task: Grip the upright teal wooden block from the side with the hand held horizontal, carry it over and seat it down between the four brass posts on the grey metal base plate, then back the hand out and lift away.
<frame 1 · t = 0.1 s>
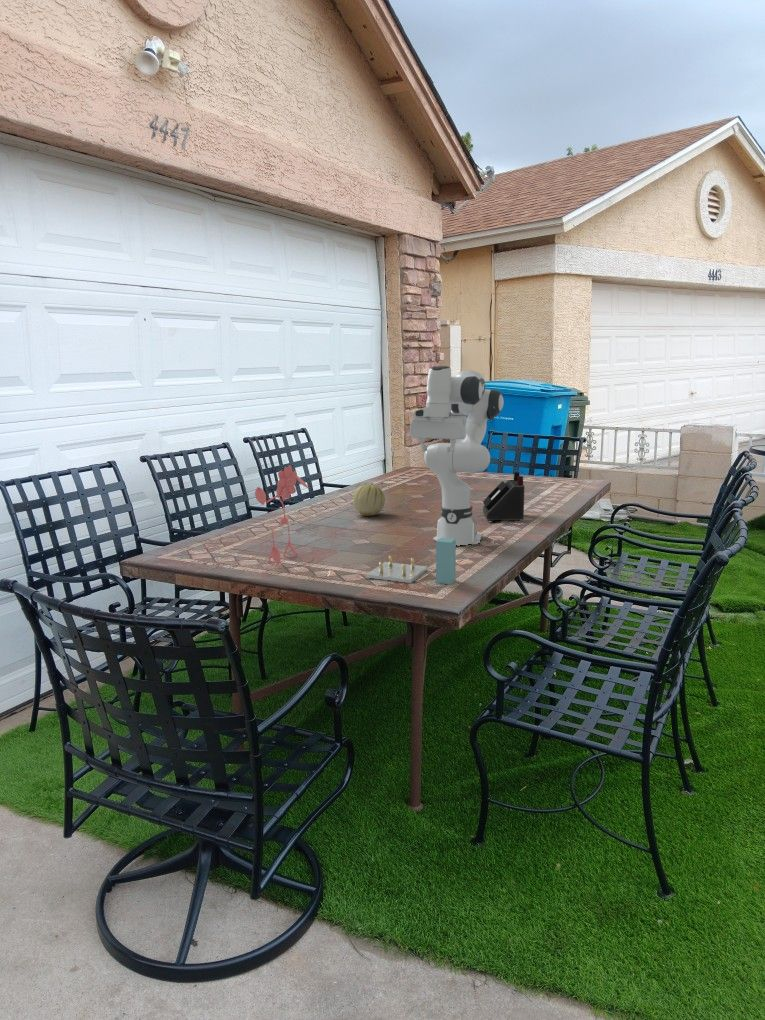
hand: (437, 451, 259), 39 cm above the table, tool pointing down, fingers open, 8 cm apart
figurine: (291, 561, 265), on the table
post plate: (397, 573, 248), on the table
voltmeter: (502, 519, 327), on the table
cantaloupe: (369, 515, 337), on the table
teal block: (445, 581, 239), on the table
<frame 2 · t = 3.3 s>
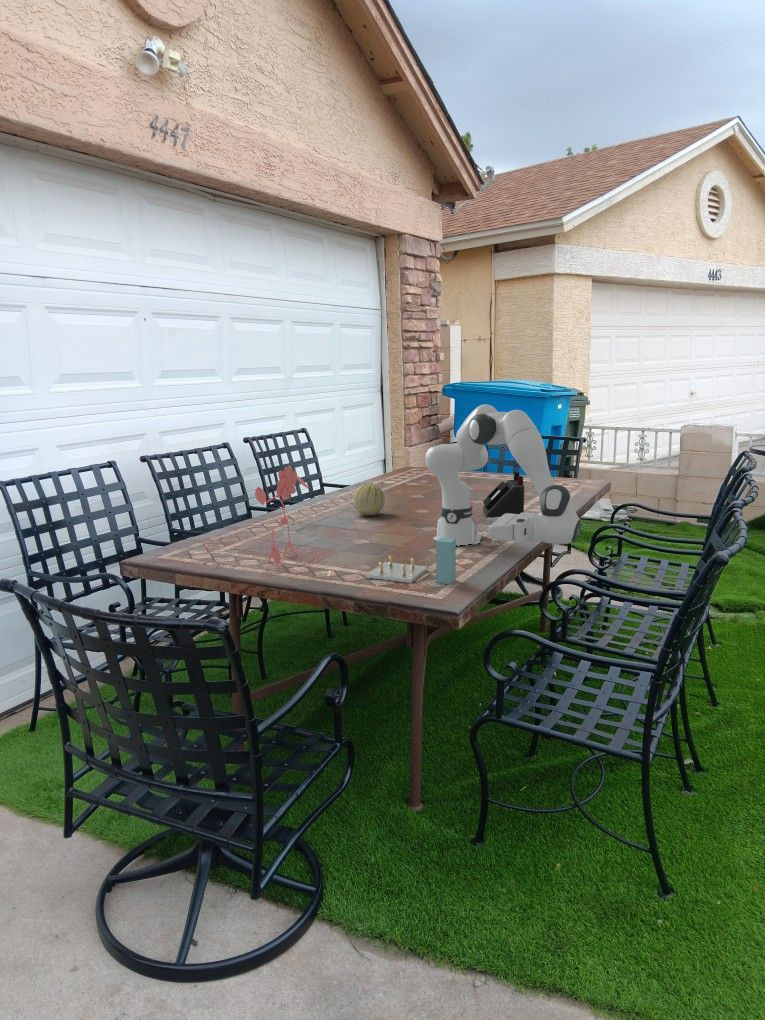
hand: (482, 523, 230), 20 cm above the table, tool horizontal, fingers open, 8 cm apart
nothing on the table moved.
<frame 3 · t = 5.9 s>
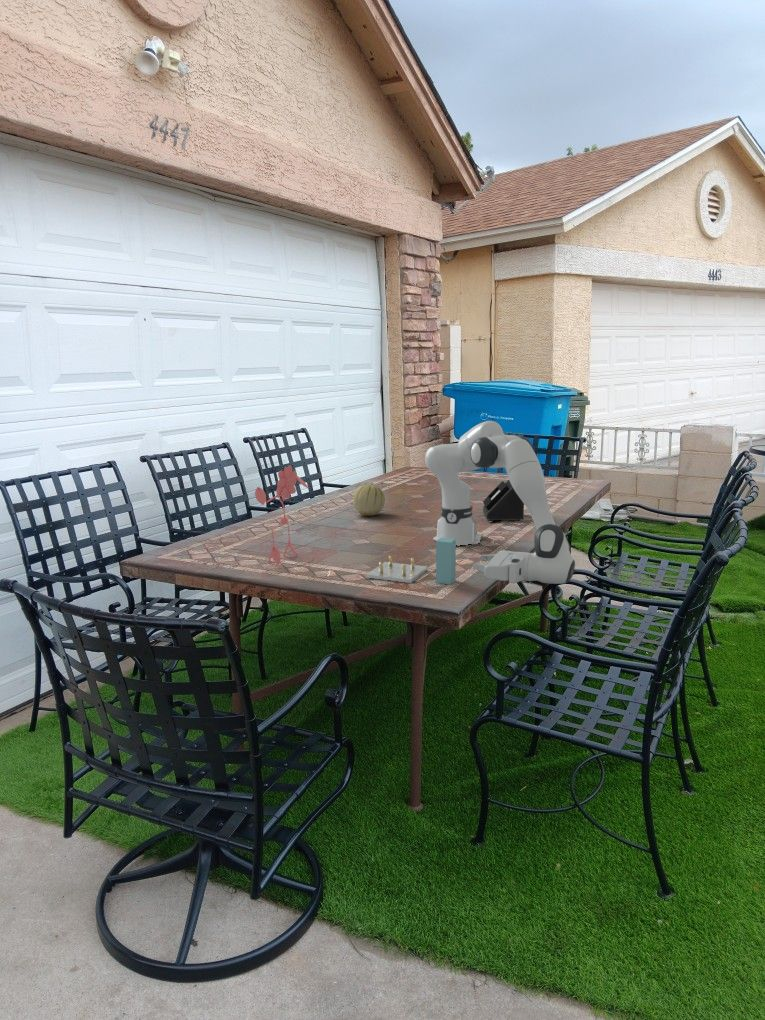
hand: (477, 561, 234), 8 cm above the table, tool horizontal, fingers open, 8 cm apart
nothing on the table moved.
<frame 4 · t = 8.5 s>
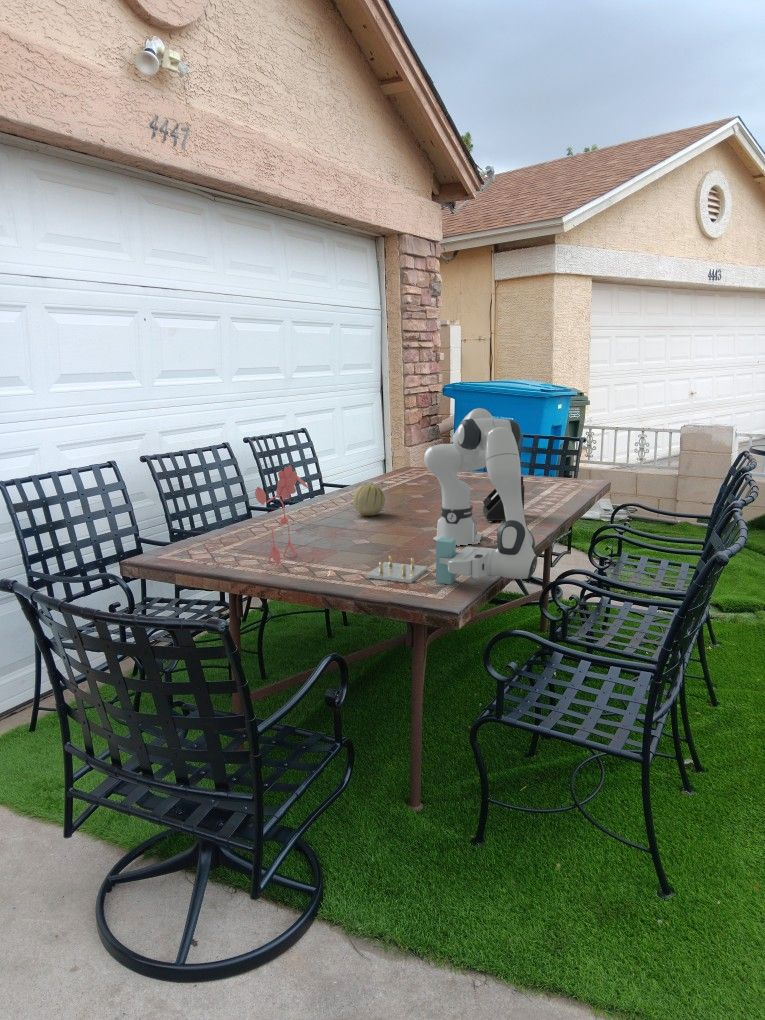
hand: (443, 557, 238), 8 cm above the table, tool horizontal, fingers closed on teal block, 5 cm apart
teal block: (445, 581, 239), on the table, touching gripper
everything else where it was.
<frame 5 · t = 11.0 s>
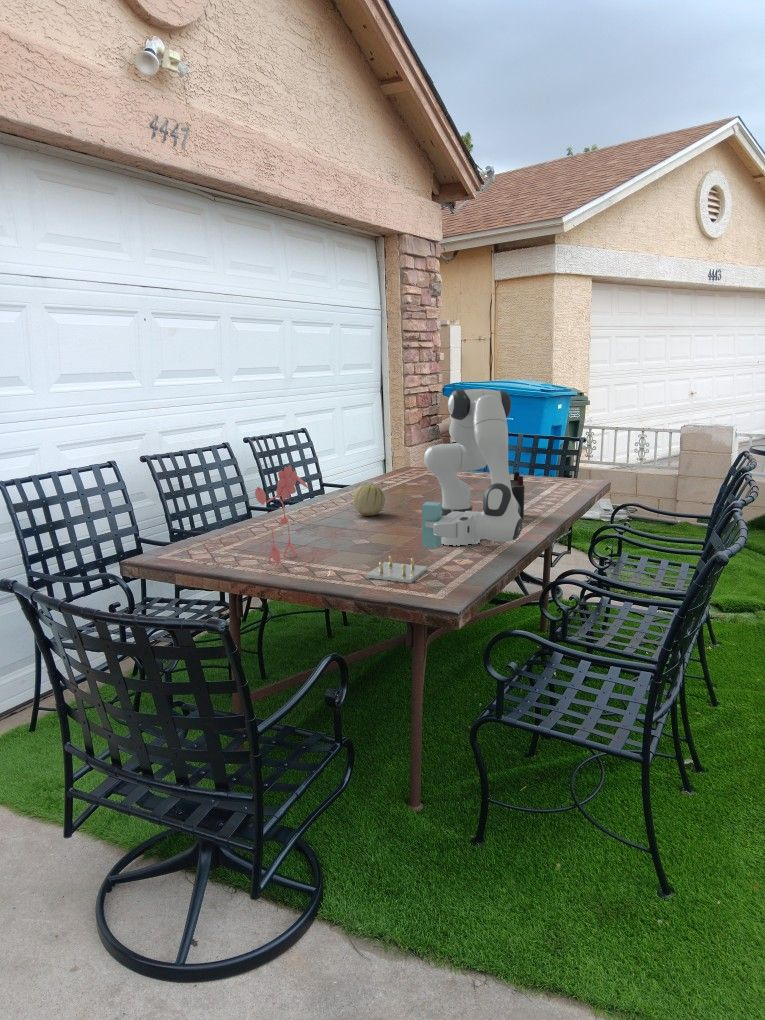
hand: (429, 521, 238), 19 cm above the table, tool horizontal, fingers closed on teal block, 5 cm apart
teal block: (431, 545, 240), point 11 cm above the table, touching gripper
everything else where it was.
when the fingers open (11 cm above the table, at t = 13.8 s): teal block drops 1 cm, resting on post plate.
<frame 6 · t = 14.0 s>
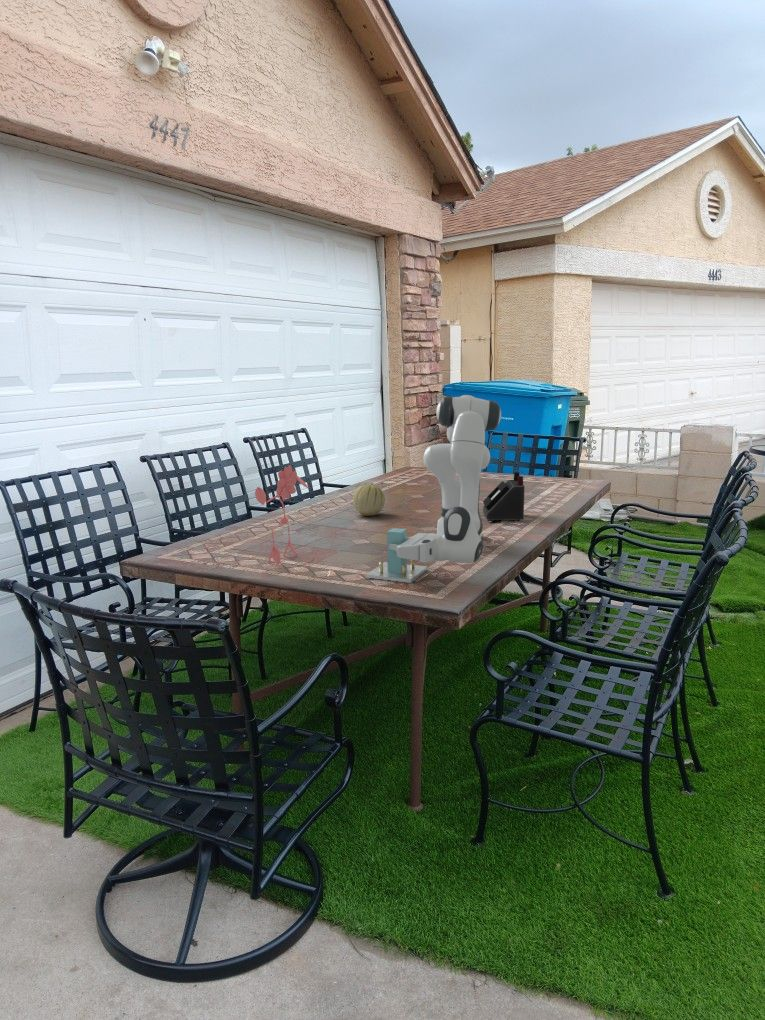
hand: (394, 543, 246), 11 cm above the table, tool horizontal, fingers open, 7 cm apart
teal block: (397, 570, 248), point 1 cm above the table, touching post plate
everything else where it was.
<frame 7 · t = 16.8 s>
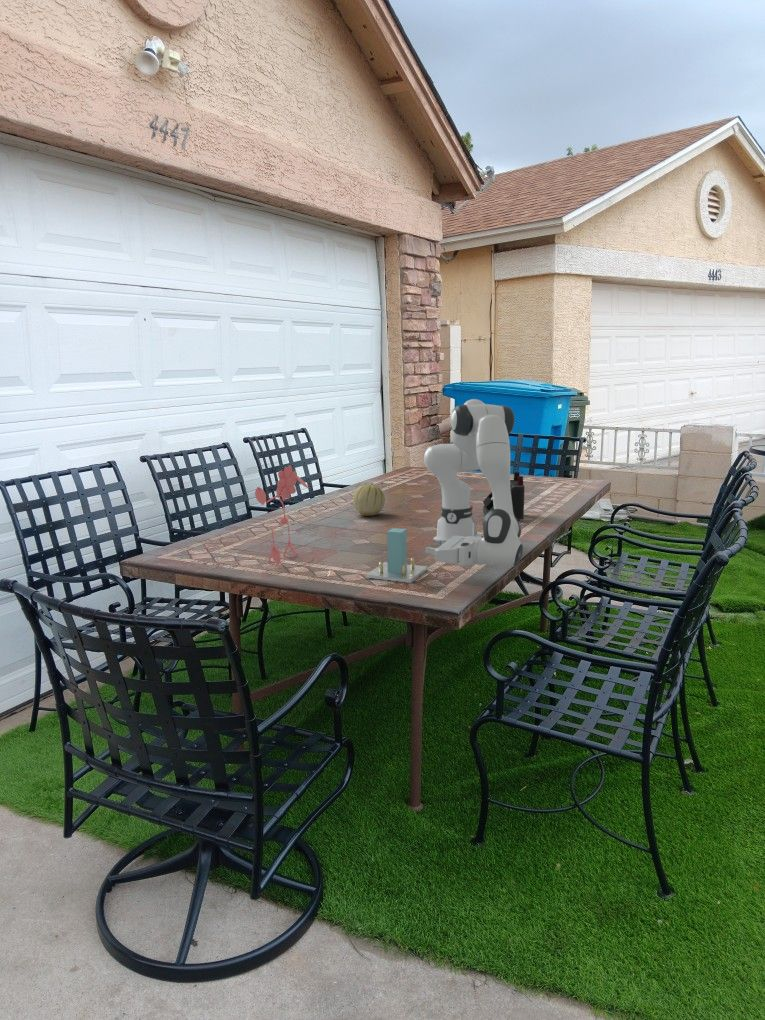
hand: (430, 546, 241), 11 cm above the table, tool horizontal, fingers open, 8 cm apart
nothing on the table moved.
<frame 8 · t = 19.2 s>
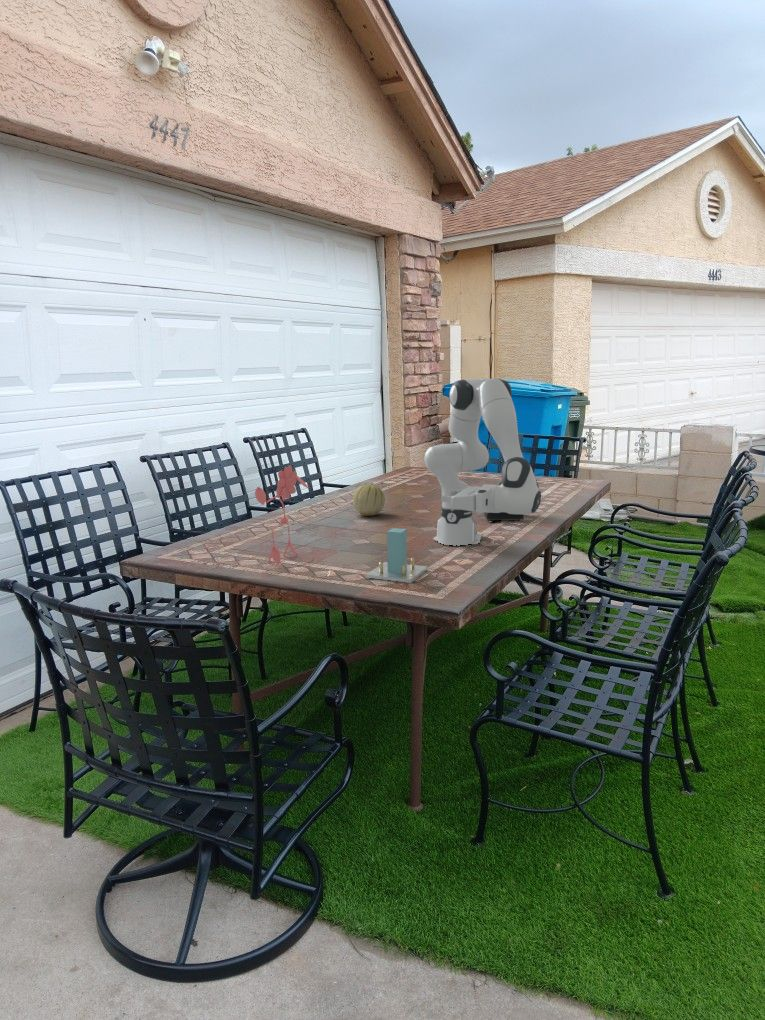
hand: (446, 495, 236), 28 cm above the table, tool horizontal, fingers open, 8 cm apart
nothing on the table moved.
at the end: teal block 0.1 cm off-centre on the post plate, point 1.2 cm above the post plate's base; teal block tilted 0°; the gripper is holding nothing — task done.
